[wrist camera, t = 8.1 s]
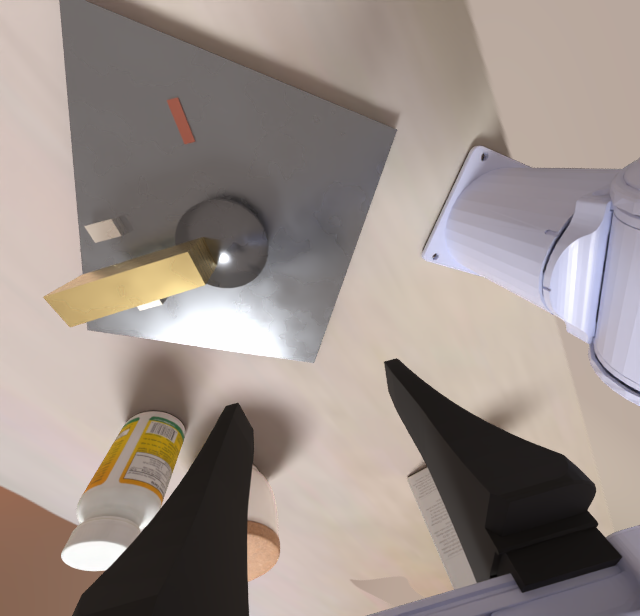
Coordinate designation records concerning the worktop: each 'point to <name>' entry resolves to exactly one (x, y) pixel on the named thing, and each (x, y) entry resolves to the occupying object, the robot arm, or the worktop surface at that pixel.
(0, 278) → the worktop surface
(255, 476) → the lidded jar
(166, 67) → the base plate
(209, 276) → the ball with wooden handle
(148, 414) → the supplement bottle
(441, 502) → the skincare box
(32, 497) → the worktop surface
